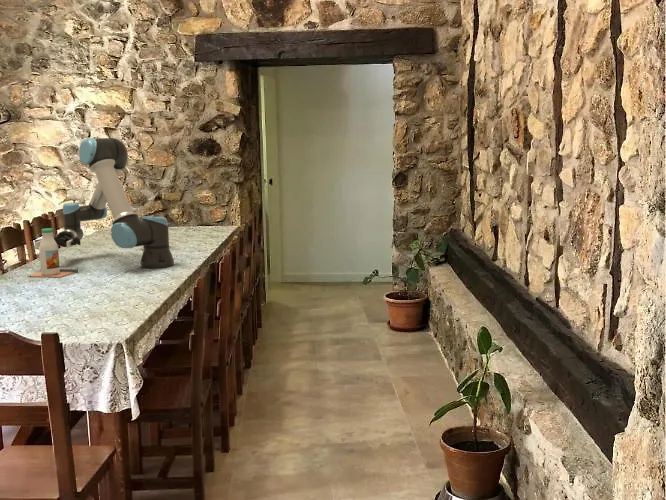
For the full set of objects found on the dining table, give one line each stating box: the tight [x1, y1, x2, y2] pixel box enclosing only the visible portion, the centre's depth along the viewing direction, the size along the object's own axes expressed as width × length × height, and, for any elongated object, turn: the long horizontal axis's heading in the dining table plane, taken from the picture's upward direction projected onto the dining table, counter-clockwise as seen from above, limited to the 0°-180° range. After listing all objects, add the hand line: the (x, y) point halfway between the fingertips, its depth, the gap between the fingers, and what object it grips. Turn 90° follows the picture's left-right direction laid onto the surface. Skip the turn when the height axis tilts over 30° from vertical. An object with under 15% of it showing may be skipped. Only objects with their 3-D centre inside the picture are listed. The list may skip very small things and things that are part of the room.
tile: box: [27, 270, 75, 279], centre depth 300 cm, size 16×10×1 cm, turn 78°
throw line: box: [60, 268, 79, 274], centre depth 306 cm, size 18×1×2 cm, turn 78°
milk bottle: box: [38, 227, 61, 275], centre depth 299 cm, size 8×8×20 cm
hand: (51, 245), depth 303 cm, fingers open, 13 cm apart
